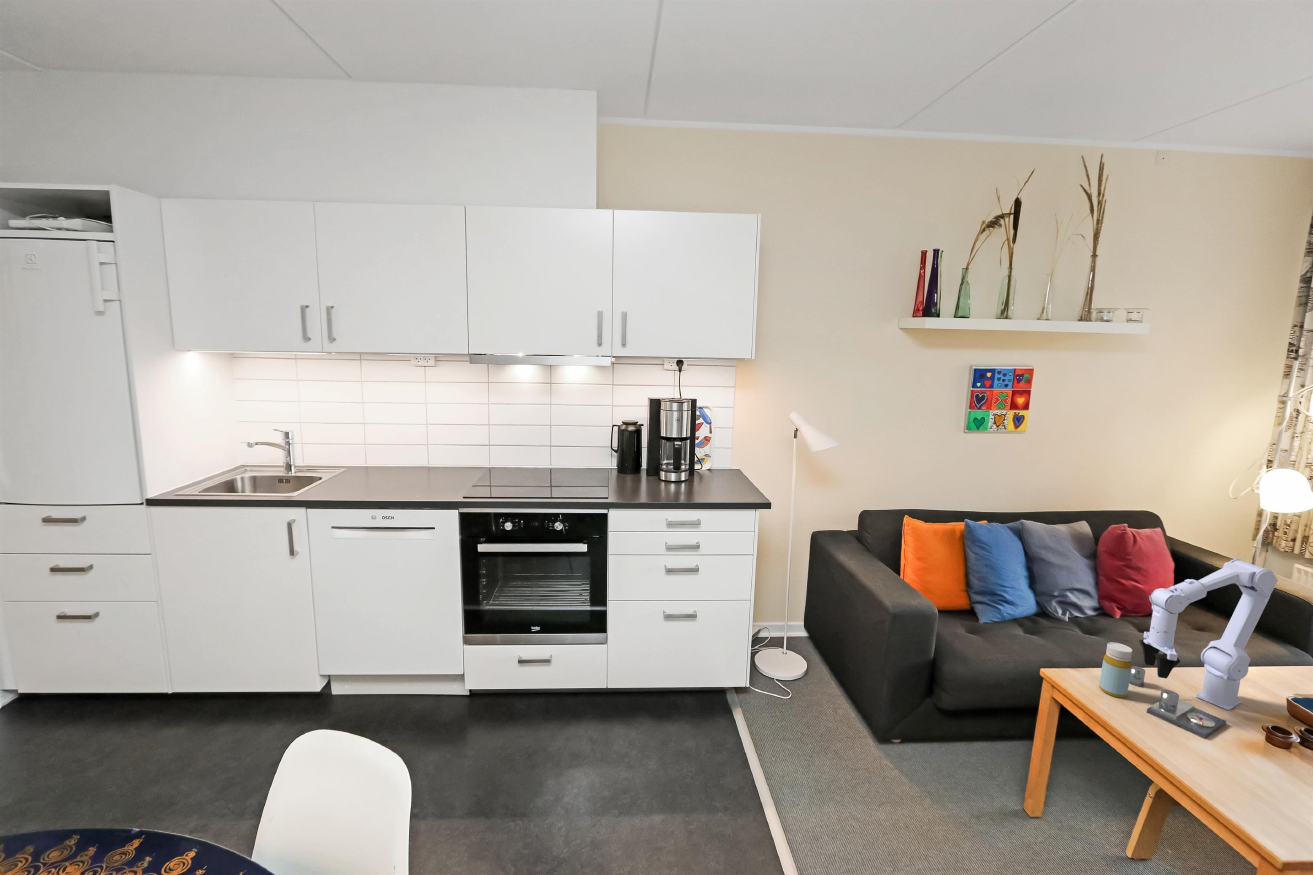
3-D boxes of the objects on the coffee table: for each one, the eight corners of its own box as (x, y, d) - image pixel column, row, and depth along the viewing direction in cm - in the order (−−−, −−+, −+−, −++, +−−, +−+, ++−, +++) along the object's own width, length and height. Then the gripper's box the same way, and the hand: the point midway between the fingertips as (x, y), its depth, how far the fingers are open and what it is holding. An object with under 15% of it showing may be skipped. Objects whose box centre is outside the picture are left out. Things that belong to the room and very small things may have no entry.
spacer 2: (1156, 707, 176) (1158, 691, 175) (1161, 703, 178) (1164, 687, 178) (1173, 714, 173) (1175, 698, 172) (1178, 710, 175) (1181, 694, 174)
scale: (1168, 700, 184) (1169, 693, 184) (1225, 724, 172) (1227, 717, 172) (1146, 712, 177) (1147, 705, 177) (1204, 738, 166) (1206, 731, 165)
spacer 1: (1130, 678, 196) (1133, 664, 195) (1145, 684, 192) (1147, 670, 192) (1124, 681, 194) (1127, 667, 193) (1139, 687, 191) (1141, 673, 190)
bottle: (1098, 683, 192) (1105, 639, 190) (1126, 691, 188) (1133, 646, 186) (1098, 692, 187) (1106, 647, 185) (1127, 701, 183) (1134, 655, 181)
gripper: (1135, 616, 189) (1128, 657, 191) (1159, 637, 175) (1152, 680, 177) (1161, 620, 187) (1154, 660, 189) (1188, 641, 173) (1181, 685, 175)
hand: (1155, 670), depth 183 cm, fingers open, 7 cm apart
